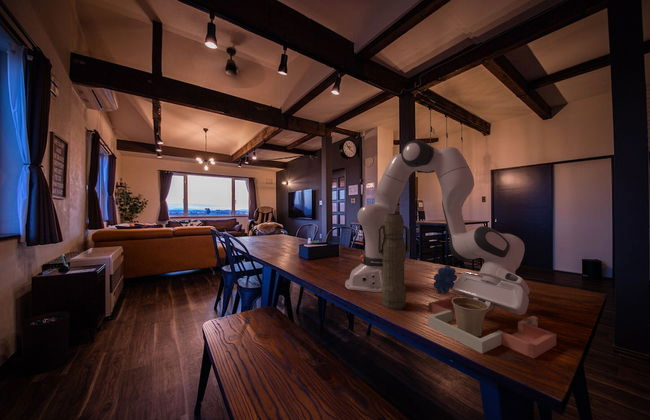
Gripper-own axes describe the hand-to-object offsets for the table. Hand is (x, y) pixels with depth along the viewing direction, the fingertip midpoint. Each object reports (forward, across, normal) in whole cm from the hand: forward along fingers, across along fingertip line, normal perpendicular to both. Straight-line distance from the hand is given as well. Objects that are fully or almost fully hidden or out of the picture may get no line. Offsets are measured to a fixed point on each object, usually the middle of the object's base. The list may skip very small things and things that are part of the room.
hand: (477, 314), depth 73 cm
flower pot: (+6, 0, 0) cm, 6 cm away
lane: (-6, 0, +12) cm, 14 cm away
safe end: (+8, 0, -1) cm, 8 cm away
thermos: (+10, -26, -4) cm, 28 cm away
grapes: (-10, -25, +17) cm, 32 cm away
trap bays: (+1, 0, +5) cm, 5 cm away
